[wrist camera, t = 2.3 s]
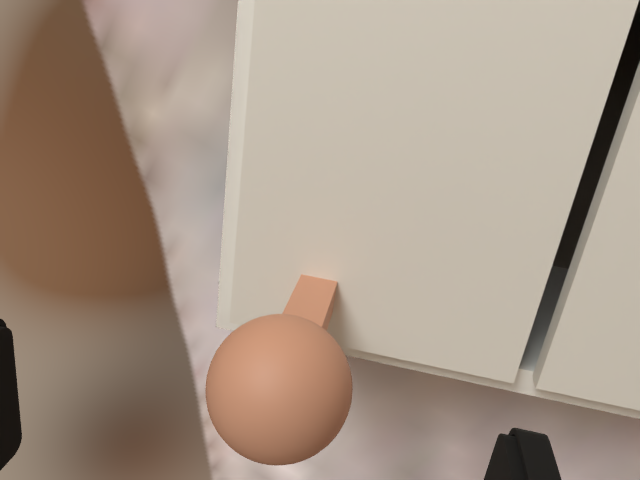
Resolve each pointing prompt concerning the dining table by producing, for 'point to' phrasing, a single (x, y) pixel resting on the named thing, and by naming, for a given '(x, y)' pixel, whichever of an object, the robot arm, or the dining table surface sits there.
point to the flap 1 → (400, 195)
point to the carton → (634, 51)
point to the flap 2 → (602, 285)
